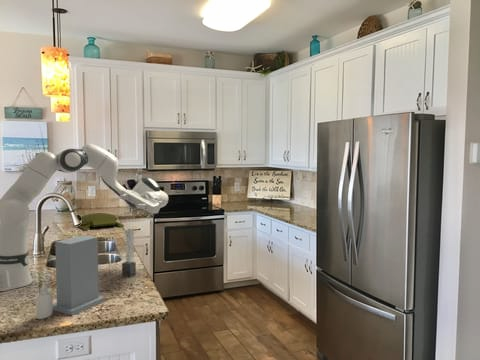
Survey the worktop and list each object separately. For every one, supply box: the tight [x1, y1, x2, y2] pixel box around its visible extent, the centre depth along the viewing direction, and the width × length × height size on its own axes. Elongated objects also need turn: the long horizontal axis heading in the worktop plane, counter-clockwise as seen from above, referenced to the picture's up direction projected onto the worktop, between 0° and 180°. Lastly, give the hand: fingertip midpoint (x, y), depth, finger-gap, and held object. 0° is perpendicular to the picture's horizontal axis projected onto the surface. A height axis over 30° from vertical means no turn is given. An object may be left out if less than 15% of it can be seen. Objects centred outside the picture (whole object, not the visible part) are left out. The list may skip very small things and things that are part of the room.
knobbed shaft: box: [121, 229, 137, 278], centre depth 189 cm, size 22×5×4 cm
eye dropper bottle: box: [35, 283, 54, 320], centre depth 141 cm, size 4×6×12 cm
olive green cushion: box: [78, 212, 125, 231], centre depth 313 cm, size 35×31×10 cm
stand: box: [52, 235, 106, 316], centre depth 151 cm, size 16×12×26 cm
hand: (129, 201), depth 182 cm, fingers open, 8 cm apart
